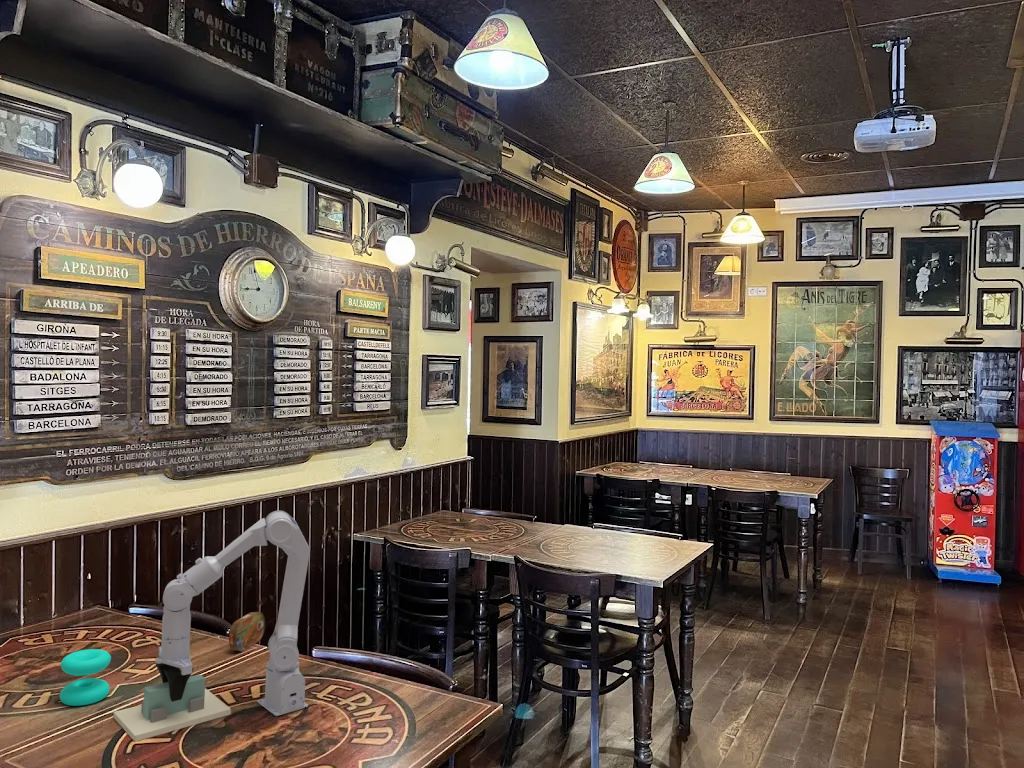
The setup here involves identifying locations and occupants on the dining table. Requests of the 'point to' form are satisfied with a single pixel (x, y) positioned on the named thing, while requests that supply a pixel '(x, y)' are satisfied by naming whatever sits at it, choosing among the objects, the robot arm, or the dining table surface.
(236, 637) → the tin
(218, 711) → the hinge board
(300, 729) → the dining table surface
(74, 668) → the donuts
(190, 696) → the teal rectangular block
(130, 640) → the dining table surface
